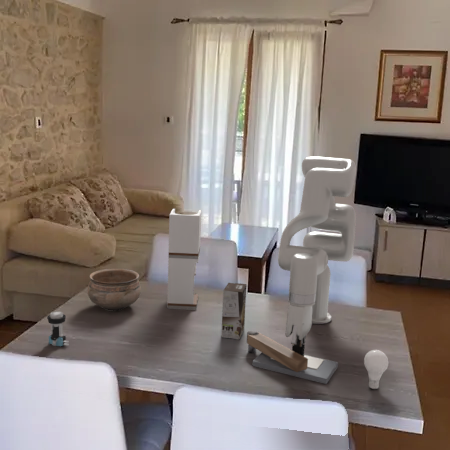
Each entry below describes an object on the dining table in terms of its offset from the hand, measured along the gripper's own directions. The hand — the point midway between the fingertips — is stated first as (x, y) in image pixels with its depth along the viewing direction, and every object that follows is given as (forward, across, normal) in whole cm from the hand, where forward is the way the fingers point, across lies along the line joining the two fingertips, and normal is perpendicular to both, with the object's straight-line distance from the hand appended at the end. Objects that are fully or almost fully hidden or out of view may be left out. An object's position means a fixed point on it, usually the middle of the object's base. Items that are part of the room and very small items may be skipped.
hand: (297, 357), depth 166 cm
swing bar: (0, +1, -7) cm, 7 cm away
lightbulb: (+4, +1, +22) cm, 23 cm away
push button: (+4, +22, -69) cm, 72 cm away
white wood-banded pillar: (+4, -30, -55) cm, 62 cm away
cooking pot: (+4, -13, -74) cm, 75 cm away
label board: (+3, -1, -1) cm, 4 cm away
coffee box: (+4, -14, -27) cm, 30 cm away
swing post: (+4, -4, -16) cm, 17 cm away
